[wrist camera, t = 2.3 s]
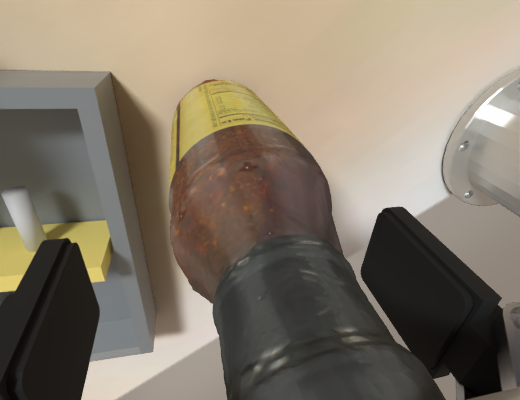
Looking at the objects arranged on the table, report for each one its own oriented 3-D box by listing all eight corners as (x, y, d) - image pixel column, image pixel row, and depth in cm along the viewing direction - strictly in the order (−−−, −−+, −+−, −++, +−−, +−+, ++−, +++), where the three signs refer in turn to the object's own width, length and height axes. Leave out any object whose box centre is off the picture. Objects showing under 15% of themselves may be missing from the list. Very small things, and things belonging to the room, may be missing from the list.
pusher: (103, 169, 20) (84, 211, 16) (118, 232, 23) (104, 281, 19) (-48, 175, 19) (-110, 223, 15) (-13, 242, 21) (-57, 298, 18)
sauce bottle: (231, 177, 24) (334, 563, 8) (155, 134, 21) (56, 612, 5) (284, 105, 22) (587, 431, 5) (207, 47, 19) (360, 374, 3)
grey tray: (110, 71, 18) (94, 87, 15) (156, 313, 30) (152, 352, 27) (-116, 68, 16) (-192, 85, 13) (28, 329, 28) (8, 373, 25)
